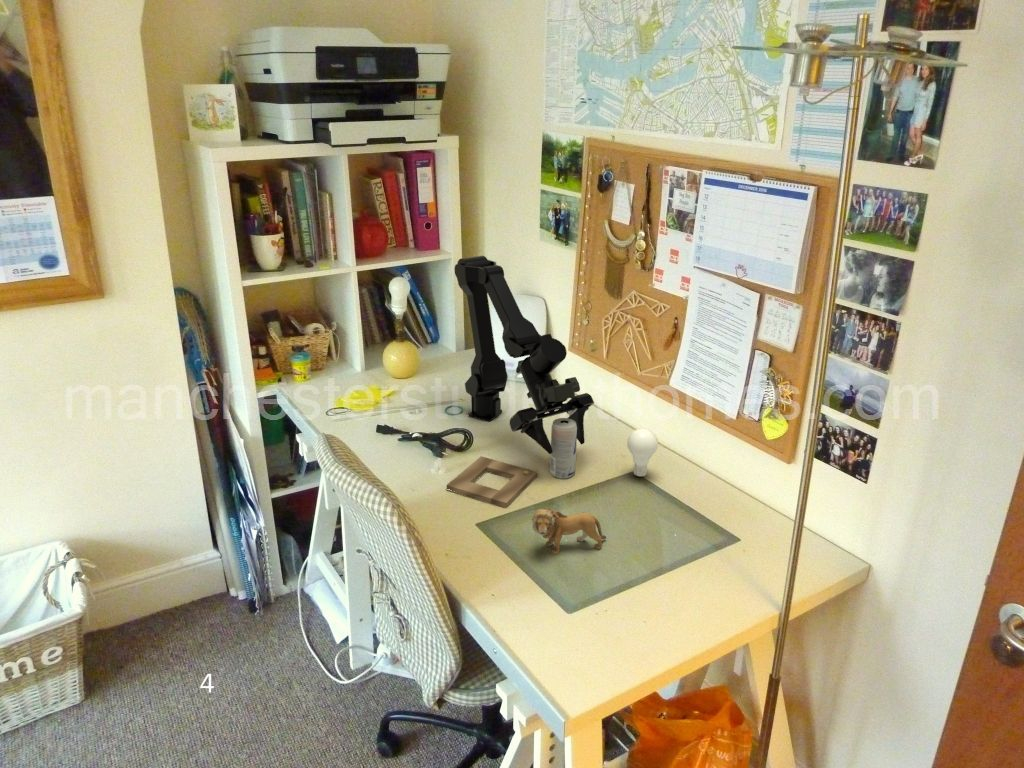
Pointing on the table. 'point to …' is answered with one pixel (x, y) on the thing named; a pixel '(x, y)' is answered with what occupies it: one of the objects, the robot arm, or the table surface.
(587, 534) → the lion figurine
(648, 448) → the lightbulb
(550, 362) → the robot arm
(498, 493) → the pocket plate
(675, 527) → the table surface
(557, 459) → the energy drink
